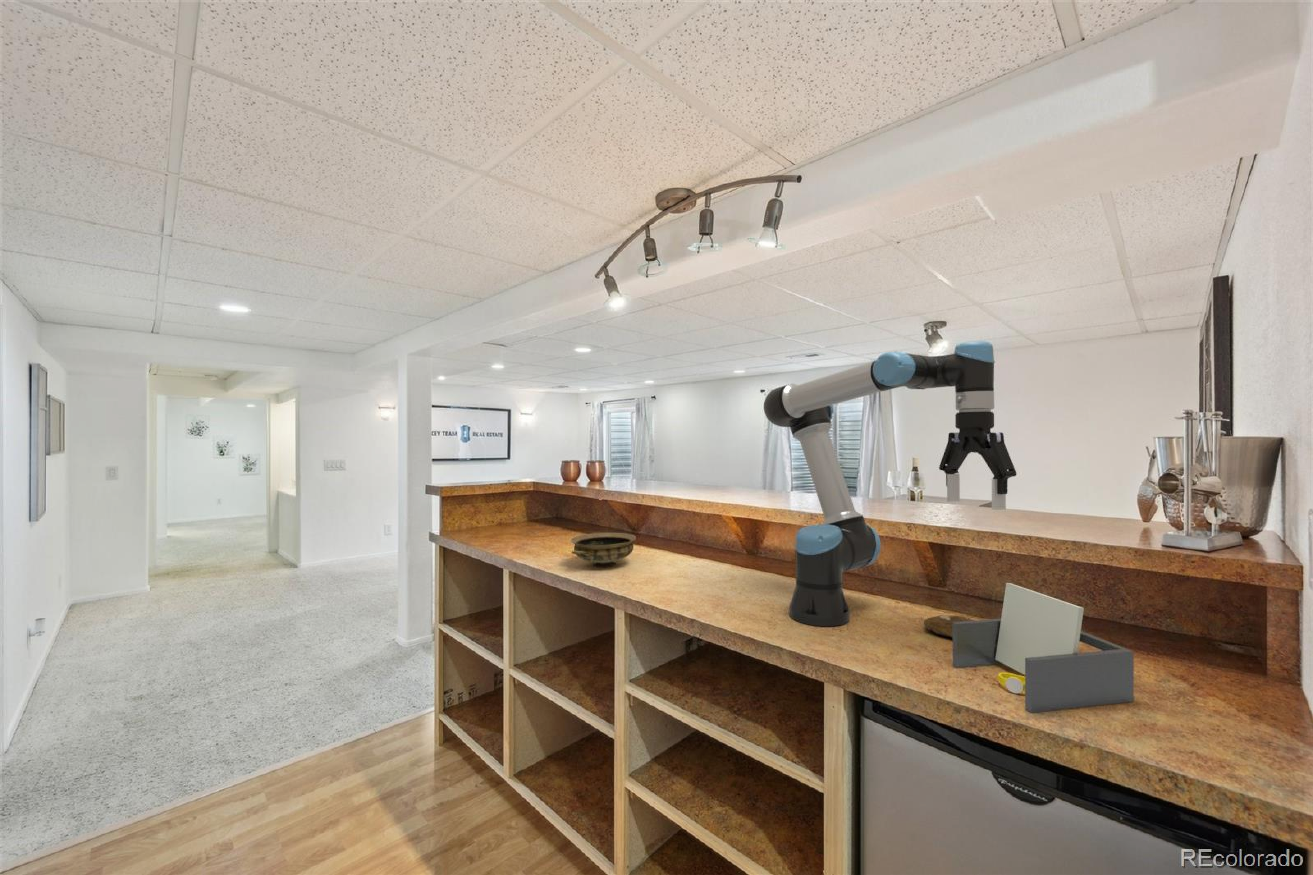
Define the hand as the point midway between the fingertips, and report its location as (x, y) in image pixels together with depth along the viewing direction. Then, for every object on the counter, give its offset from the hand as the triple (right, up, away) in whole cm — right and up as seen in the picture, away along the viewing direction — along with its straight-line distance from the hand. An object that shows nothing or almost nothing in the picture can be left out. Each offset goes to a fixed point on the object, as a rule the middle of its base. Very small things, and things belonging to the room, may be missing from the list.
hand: (974, 505), depth 121 cm
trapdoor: (+1, -23, -18) cm, 29 cm away
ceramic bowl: (-92, -32, +77) cm, 124 cm away
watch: (-2, -31, -18) cm, 36 cm away
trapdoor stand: (+1, -32, -18) cm, 37 cm away
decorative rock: (0, -32, +7) cm, 33 cm away
